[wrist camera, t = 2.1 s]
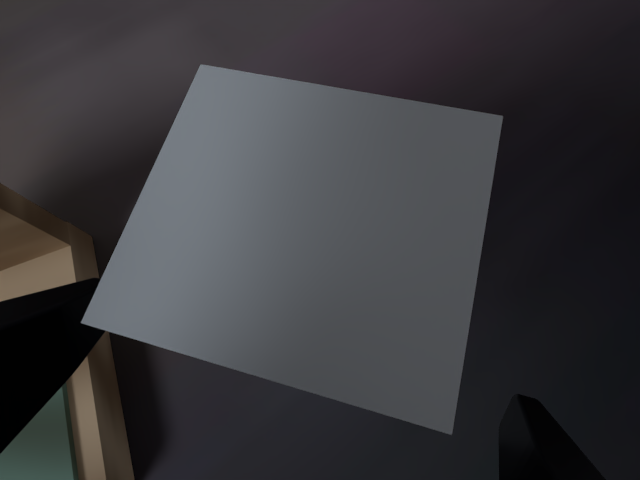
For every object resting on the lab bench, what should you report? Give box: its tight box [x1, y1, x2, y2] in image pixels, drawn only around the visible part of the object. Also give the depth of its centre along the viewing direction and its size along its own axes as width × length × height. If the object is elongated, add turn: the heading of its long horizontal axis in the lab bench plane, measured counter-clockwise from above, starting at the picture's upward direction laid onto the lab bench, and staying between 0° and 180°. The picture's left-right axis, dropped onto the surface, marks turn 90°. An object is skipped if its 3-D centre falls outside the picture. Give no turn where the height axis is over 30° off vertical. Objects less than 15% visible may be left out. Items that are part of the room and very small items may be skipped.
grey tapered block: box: [81, 65, 503, 435], centre depth 13 cm, size 5×6×13 cm
